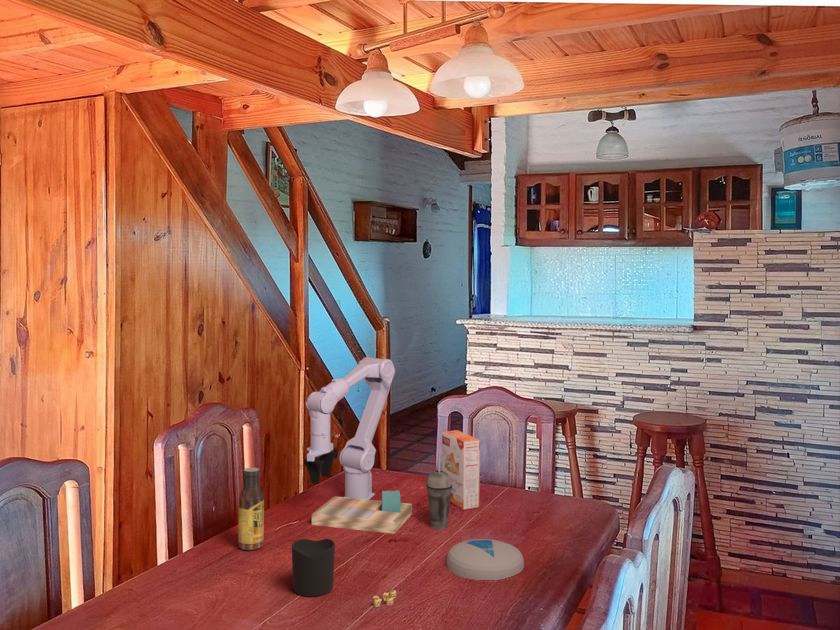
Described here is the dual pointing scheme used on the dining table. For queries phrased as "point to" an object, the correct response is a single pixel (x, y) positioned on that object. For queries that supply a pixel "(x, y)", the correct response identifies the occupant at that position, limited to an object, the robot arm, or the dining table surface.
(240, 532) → the sauce bottle
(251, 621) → the dining table surface
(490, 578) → the grey thick round disc
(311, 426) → the robot arm
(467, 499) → the cracker box
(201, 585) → the dining table surface
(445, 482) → the beverage cup
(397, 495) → the teal block
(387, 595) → the popcorn pieces
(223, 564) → the dining table surface
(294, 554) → the pen holder
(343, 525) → the puzzle board
